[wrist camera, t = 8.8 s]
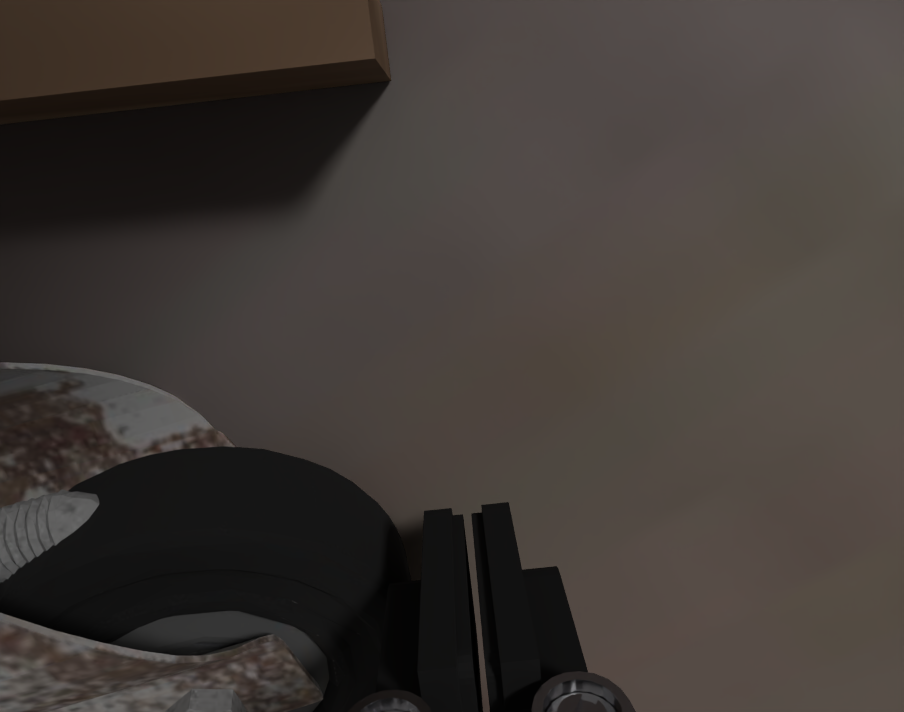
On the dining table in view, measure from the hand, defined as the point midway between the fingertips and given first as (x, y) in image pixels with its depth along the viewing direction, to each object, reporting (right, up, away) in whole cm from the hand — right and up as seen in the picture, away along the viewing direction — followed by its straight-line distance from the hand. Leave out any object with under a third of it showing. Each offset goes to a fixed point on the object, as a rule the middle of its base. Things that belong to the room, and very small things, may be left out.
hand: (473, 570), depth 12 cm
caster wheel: (-6, 0, +2) cm, 7 cm away
